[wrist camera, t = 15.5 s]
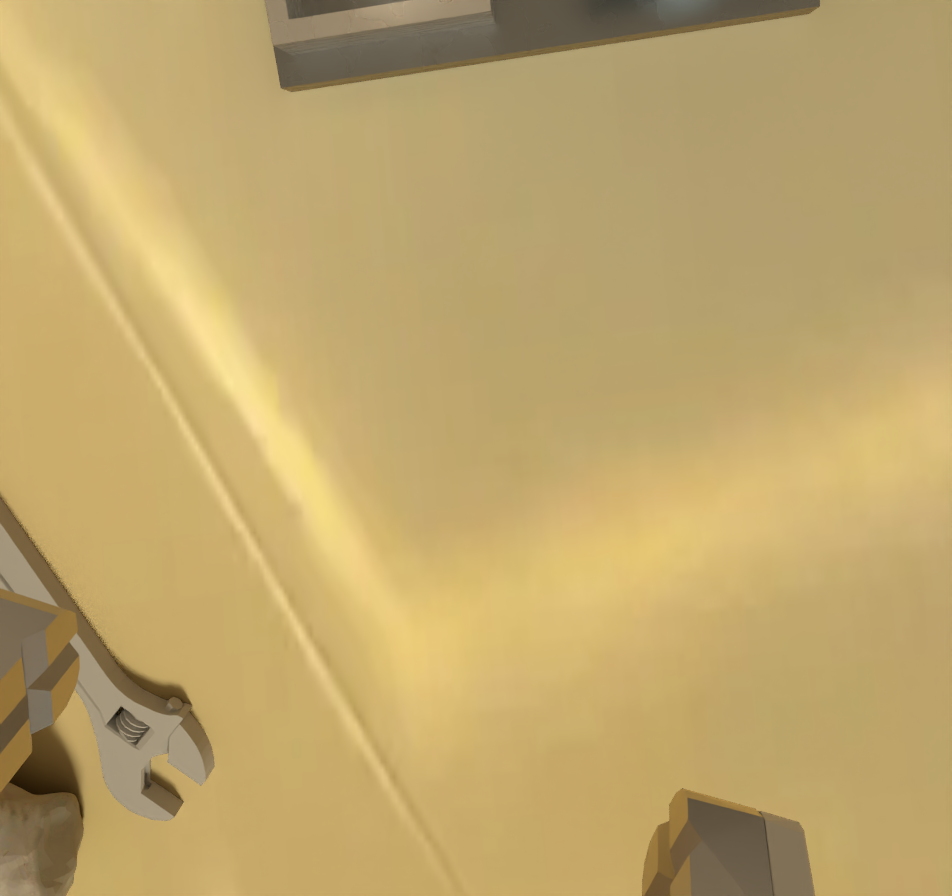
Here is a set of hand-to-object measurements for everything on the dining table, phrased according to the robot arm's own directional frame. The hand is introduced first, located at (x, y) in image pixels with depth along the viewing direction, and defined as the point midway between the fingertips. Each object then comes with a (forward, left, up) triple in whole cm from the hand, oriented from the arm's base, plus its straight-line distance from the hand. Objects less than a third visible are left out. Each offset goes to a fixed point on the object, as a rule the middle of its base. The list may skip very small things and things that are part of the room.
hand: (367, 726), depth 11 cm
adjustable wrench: (+25, +13, -31) cm, 41 cm away
